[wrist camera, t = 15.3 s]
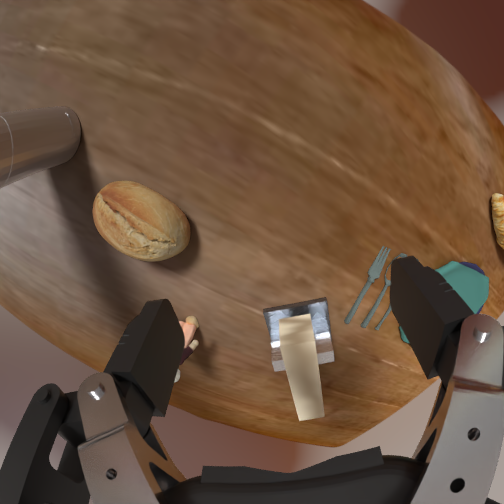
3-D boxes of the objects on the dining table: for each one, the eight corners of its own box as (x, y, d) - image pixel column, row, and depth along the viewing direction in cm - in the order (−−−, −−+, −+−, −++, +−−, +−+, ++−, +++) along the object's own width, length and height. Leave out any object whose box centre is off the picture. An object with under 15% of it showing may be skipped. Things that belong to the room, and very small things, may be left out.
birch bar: (297, 396, 43) (299, 420, 38) (278, 319, 35) (279, 347, 31) (321, 392, 42) (324, 416, 38) (310, 313, 35) (314, 341, 30)
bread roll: (115, 160, 35) (84, 172, 28) (207, 205, 37) (193, 226, 30) (98, 217, 39) (70, 238, 32) (181, 260, 41) (165, 290, 34)
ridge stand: (275, 351, 49) (276, 385, 42) (263, 309, 44) (262, 344, 37) (331, 341, 47) (338, 375, 40) (325, 297, 43) (335, 331, 36)
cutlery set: (446, 348, 48) (450, 355, 46) (334, 325, 46) (337, 334, 44) (496, 273, 40) (502, 279, 38) (389, 221, 38) (395, 227, 36)
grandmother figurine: (191, 307, 45) (170, 365, 34) (207, 322, 46) (192, 380, 35) (164, 328, 48) (141, 382, 36) (180, 341, 49) (161, 395, 38)
